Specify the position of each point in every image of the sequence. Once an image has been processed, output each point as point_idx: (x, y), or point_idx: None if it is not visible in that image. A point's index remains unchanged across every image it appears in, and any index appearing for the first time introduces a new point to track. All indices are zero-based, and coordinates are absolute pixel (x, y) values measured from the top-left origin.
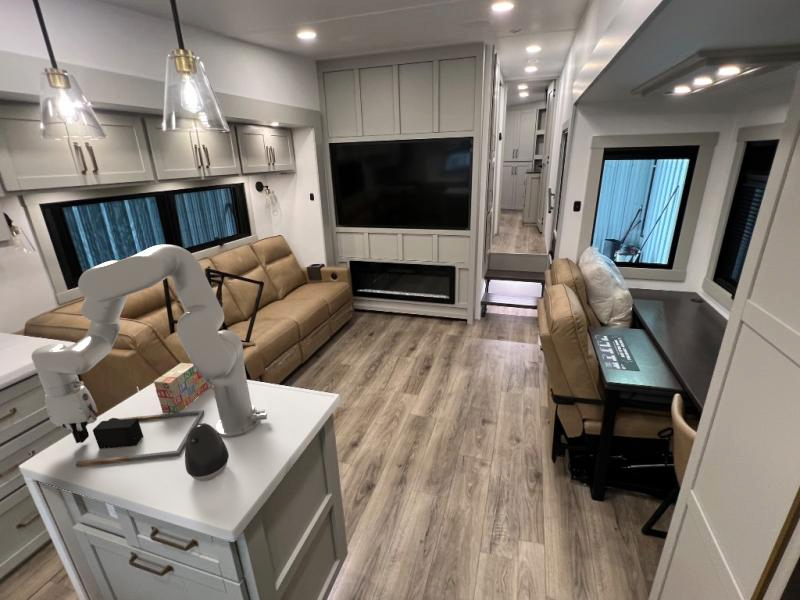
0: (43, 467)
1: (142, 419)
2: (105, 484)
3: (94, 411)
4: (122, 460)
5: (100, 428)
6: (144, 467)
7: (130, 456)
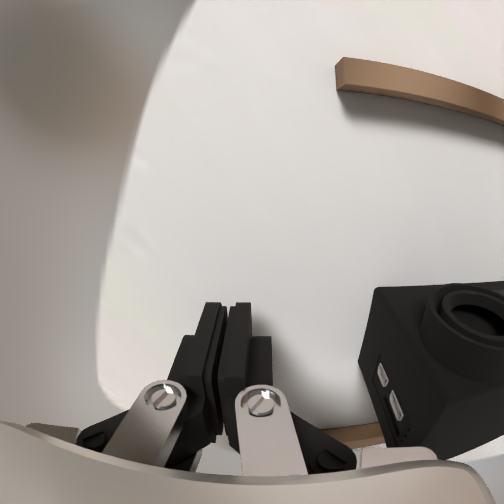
0: None
1: (501, 123)
2: None
3: (438, 484)
4: None
5: (444, 457)
6: None
7: None
